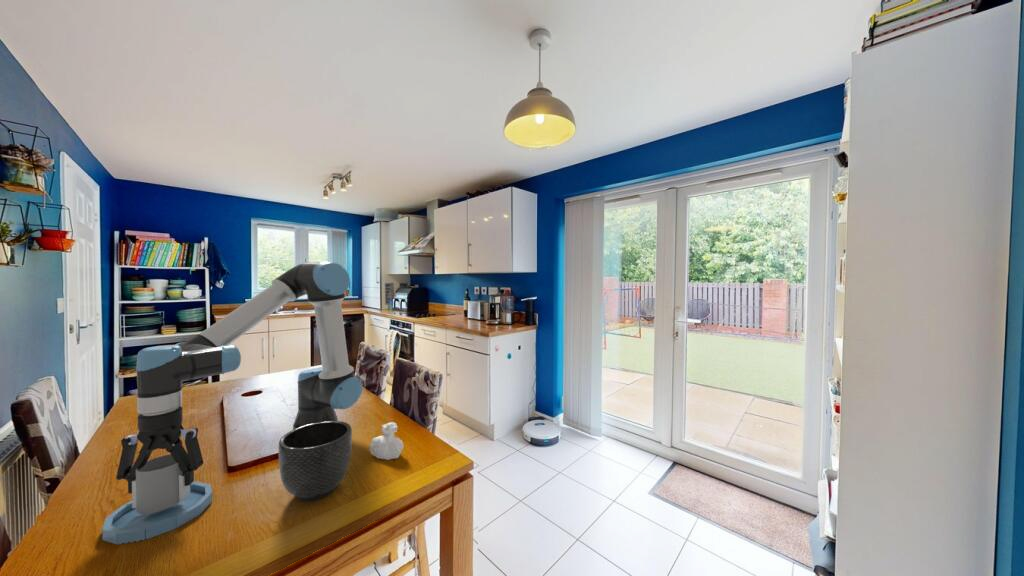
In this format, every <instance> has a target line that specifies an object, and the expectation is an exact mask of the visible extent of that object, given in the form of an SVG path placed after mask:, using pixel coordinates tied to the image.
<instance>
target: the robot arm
mask: <svg viewBox="0 0 1024 576" xmlns="http://www.w3.org/2000/svg"><path fill="white" fill-rule="evenodd" d="M350 283H351V280H350V275H349V273H348V271H347V269H346V268H345V267H344V266H343V265H342V264H339V263H337V262H331V261H326V260H325V261H316V262H315V261H314V262H307V261H306V262H302V263H300V264H297V265H295V266H293V267H292V268H289V269H288V270H287V271H285V272H284V273H282V274H280V275H279V276H278V277H276V278H275V279H273V280H272V281H271V285H270V286H268V287H267V288H265V289H264V290H262V291H261V292H260V293H258V294H257V295H255V296H253V297H252V298H250V299H249V300H248V301H245V303H243V304H241V305H240V306H238V307H237V308H236V309H234V310H232V311H231V312H229V313H228V314H226V315H225V316H224V317H222V318H221V319H219V320H217V322H214V323H213V324H212V325H210V326H208V327H207V328H206V329H205V330H202V331H201V332H199V333H198V334H197V335H195V336H194V337H192V338H191V339H189V340H187V341H183V342H178V343H176V344H168V345H167V344H165V345H156V346H150V347H145V348H142V349H141V350H139V351H138V353H137V355H136V367H135V371H136V385H137V386H136V388H137V397H136V407H137V409H136V410H137V411H136V412H137V413H138V415H137V430H138V433H137V434H135V433H131V434H129V435H128V436H127V435H126V436H125V437H123V438H121V441H120V442H121V447H122V450H121V454H120V458H119V459H120V460H119V464H118V468H117V473H116V476H115V479H116V480H119V481H120V480H126V482H127V492H128V494H131V501H132V508H136V468H137V467H138V470H139V469H141V468H142V467H143V466H145V464H146V463H147V461H148V460H150V459H149V458H150V456H151V455H152V454H153V451H155V450H158V449H159V450H166V452H167V453H169V454H171V455H172V457H173V458H174V460H175V461H176V463H178V466H179V468H180V469H181V471H182V472H183V473H181V474H180V475H179V502H181V501H184V500H185V499H186V498H187V497H188V496H189V495H190V484H192V483H193V482H195V473H194V472H195V471H197V470H198V469H199V468H201V467H202V466H203V465H204V460H203V456H202V450H201V447H200V444H199V440H198V434H199V428H197V427H194V428H191V429H188V428H187V429H185V428H184V427H183V425H182V424H183V418H184V416H183V407H182V404H183V382H186V381H191V380H198V379H201V378H207V377H212V376H218V375H224V374H226V373H231V372H235V371H236V370H238V369H239V367H240V365H241V362H242V355H241V351H240V349H239V348H238V347H237V346H235V345H233V344H232V343H233V342H235V341H236V340H237V339H239V338H241V337H242V336H244V334H246V333H247V332H248V331H250V330H251V329H252V328H254V327H256V326H257V325H258V324H260V323H262V321H263V320H265V319H267V318H268V317H269V316H270V315H272V314H273V313H275V312H276V311H277V310H278V309H280V308H281V307H283V306H285V305H286V304H287V303H289V302H294V301H296V300H297V299H299V298H301V297H303V296H306V295H307V302H308V303H309V304H311V305H312V306H313V308H314V314H315V315H314V316H315V323H316V330H317V331H316V332H317V336H318V337H317V338H318V339H317V340H318V346H319V353H320V359H321V366H320V367H314V368H309V369H306V370H302V371H301V372H300V373H298V377H297V402H298V403H297V405H298V407H297V410H298V411H297V413H296V416H295V419H294V422H293V424H292V430H294V429H296V428H299V427H301V426H304V425H308V424H312V423H316V422H323V421H339V419H338V418H339V417H338V415H337V412H336V410H347V409H349V408H352V406H354V405H355V404H356V403H357V402H358V401H359V399H360V398H361V396H362V393H363V387H364V386H363V382H362V380H361V379H359V378H358V377H356V375H355V369H354V367H353V366H352V365H350V363H349V355H348V348H347V340H346V331H345V324H344V317H343V308H342V307H343V306H342V302H343V300H344V299H346V294H345V293H346V292H347V290H348V288H349V287H350V285H351V284H350ZM181 436H182V439H183V440H184V444H185V445H184V446H185V448H184V446H183V441H182V440H181ZM138 442H140V443H141V444H142V446H141V448H140V450H139V452H138V455H137V458H136V460H135V455H136V452H137V447H138ZM134 461H135V462H134Z"/></svg>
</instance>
